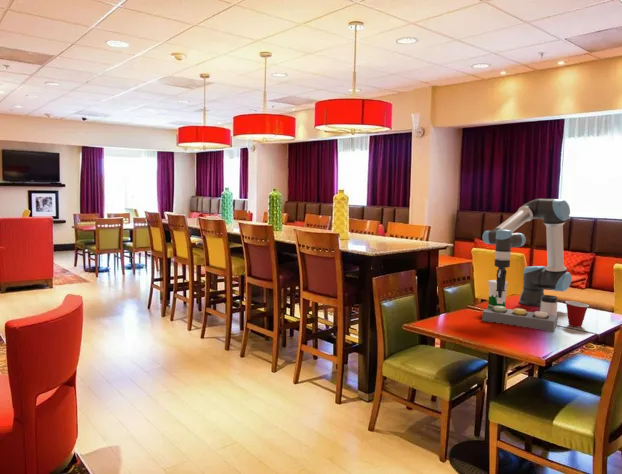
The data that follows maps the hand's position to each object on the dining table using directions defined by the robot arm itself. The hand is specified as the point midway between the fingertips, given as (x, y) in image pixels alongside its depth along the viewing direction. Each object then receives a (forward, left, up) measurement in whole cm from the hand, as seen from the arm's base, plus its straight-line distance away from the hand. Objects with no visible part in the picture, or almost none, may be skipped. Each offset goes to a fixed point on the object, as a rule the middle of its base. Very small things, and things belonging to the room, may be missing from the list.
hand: (499, 303), depth 262 cm
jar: (-20, +21, -9) cm, 30 cm away
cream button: (0, +20, -4) cm, 20 cm away
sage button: (0, 0, -4) cm, 4 cm away
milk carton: (-16, -5, -9) cm, 19 cm away
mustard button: (0, +10, -4) cm, 11 cm away
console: (0, +10, -9) cm, 14 cm away
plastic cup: (-12, +35, -9) cm, 38 cm away
